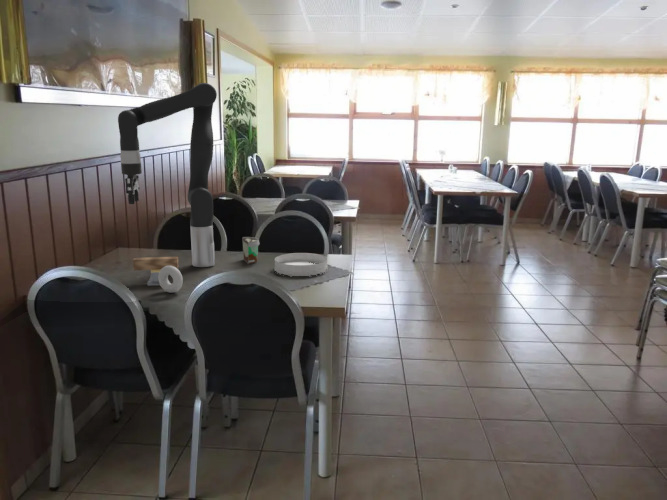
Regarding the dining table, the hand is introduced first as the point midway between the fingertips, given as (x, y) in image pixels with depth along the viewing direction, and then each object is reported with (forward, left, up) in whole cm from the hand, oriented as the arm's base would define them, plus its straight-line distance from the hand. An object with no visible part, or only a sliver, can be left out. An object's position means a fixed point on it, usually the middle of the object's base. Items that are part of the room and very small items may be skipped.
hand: (133, 202), depth 223 cm
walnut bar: (-11, +20, -22) cm, 32 cm away
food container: (-47, -9, -28) cm, 55 cm away
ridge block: (-11, +20, -28) cm, 36 cm away
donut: (-18, +34, -28) cm, 48 cm away
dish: (-67, +8, -28) cm, 73 cm away
